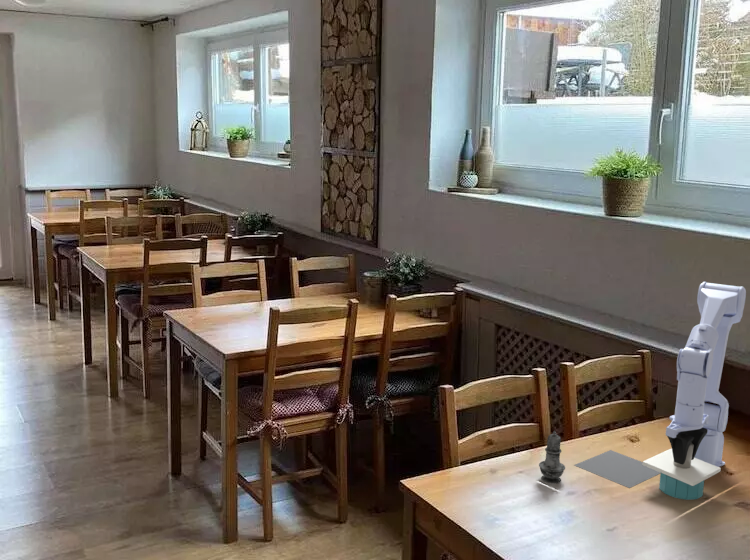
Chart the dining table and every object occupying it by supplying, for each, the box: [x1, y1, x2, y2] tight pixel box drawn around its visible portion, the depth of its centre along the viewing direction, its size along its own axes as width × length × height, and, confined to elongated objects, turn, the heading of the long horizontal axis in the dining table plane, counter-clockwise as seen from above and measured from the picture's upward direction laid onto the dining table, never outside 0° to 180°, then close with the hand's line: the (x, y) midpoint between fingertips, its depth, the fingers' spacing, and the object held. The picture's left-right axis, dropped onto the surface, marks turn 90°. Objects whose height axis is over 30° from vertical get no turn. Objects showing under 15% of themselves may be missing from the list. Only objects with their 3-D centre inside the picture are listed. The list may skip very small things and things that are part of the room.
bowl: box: [658, 473, 705, 501], centre depth 177 cm, size 9×9×4 cm
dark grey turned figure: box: [538, 430, 566, 486], centre depth 180 cm, size 6×6×12 cm
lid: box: [642, 443, 722, 486], centre depth 176 cm, size 12×12×6 cm
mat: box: [573, 449, 661, 489], centre depth 188 cm, size 15×15×1 cm
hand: (683, 460), depth 176 cm, fingers closed on lid, 3 cm apart
